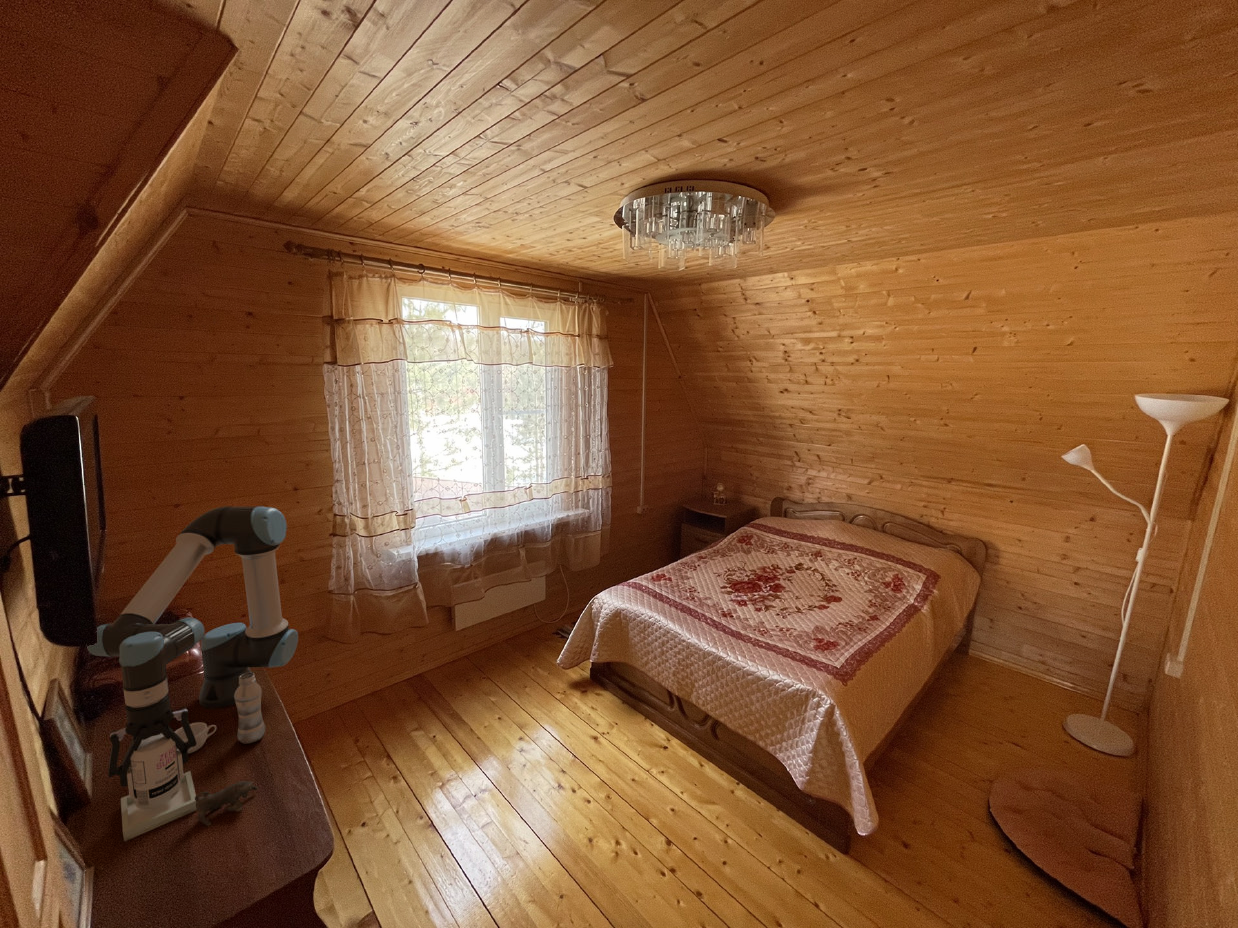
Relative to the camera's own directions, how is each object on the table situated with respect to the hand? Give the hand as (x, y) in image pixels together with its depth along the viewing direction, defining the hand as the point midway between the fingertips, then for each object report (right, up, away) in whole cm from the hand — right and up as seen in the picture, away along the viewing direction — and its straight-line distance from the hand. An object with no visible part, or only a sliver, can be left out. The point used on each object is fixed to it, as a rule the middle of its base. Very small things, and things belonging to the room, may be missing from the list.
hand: (157, 785), depth 123 cm
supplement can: (0, -4, 0) cm, 3 cm away
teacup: (-9, -3, +22) cm, 24 cm away
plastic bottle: (+5, -3, +26) cm, 26 cm away
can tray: (0, -6, +1) cm, 6 cm away
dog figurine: (+16, -7, +1) cm, 18 cm away
